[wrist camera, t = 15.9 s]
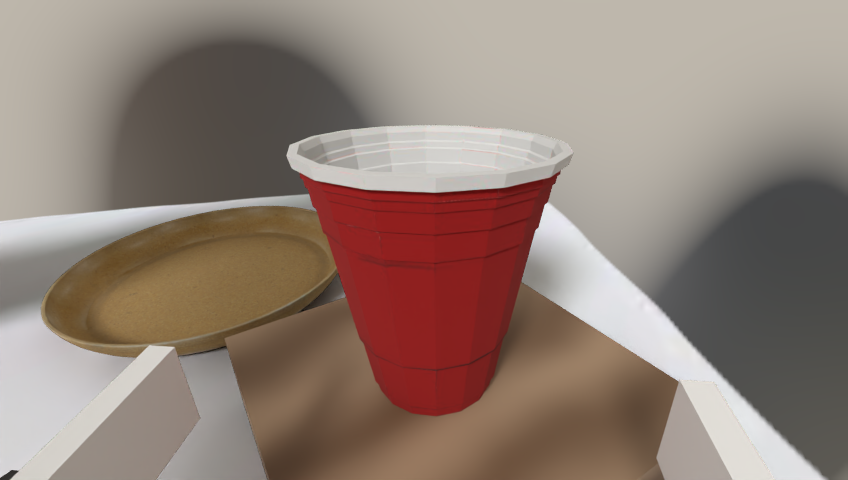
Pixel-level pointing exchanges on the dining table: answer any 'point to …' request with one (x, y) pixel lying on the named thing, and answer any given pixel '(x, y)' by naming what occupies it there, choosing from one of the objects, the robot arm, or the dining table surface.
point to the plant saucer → (192, 281)
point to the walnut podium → (462, 431)
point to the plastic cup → (430, 246)
